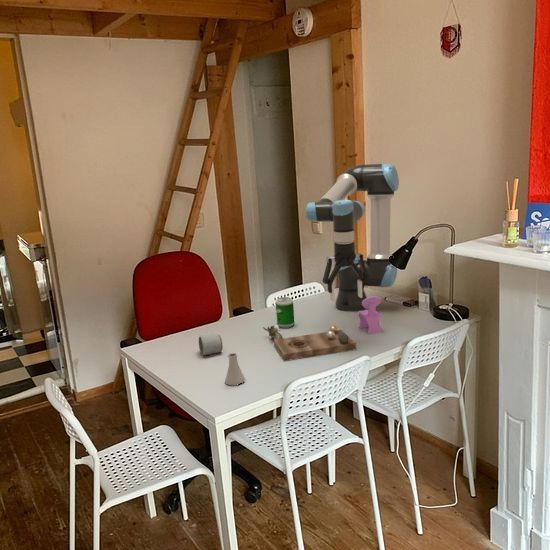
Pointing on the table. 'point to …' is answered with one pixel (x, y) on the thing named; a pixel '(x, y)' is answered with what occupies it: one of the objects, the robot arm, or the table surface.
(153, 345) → the table surface
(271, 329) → the eagle figurine
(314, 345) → the board
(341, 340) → the black rubber ball
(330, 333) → the steel ball
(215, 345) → the grey cylinder
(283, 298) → the soda can
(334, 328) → the brass ball
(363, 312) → the toy chair
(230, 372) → the flask
